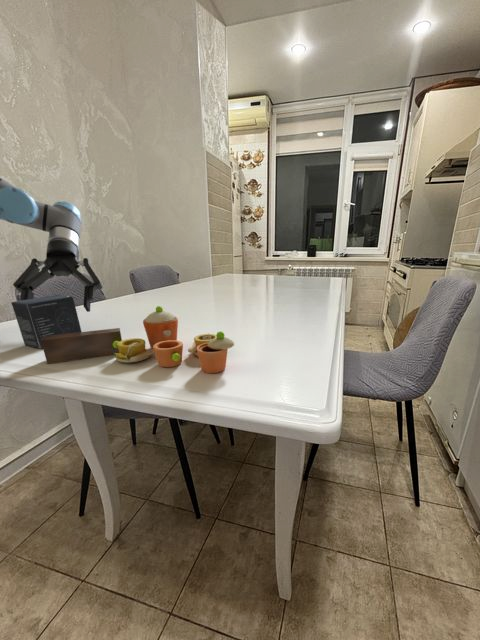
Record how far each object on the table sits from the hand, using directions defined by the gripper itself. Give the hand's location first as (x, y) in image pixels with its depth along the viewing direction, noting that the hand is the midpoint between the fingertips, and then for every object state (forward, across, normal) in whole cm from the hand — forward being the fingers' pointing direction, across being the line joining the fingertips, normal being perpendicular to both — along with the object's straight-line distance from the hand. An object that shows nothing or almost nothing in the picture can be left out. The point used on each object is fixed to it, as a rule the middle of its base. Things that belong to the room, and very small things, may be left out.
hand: (57, 310), depth 75 cm
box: (+9, 0, 0) cm, 9 cm away
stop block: (+19, -11, +10) cm, 24 cm away
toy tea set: (+23, -30, +14) cm, 40 cm away
